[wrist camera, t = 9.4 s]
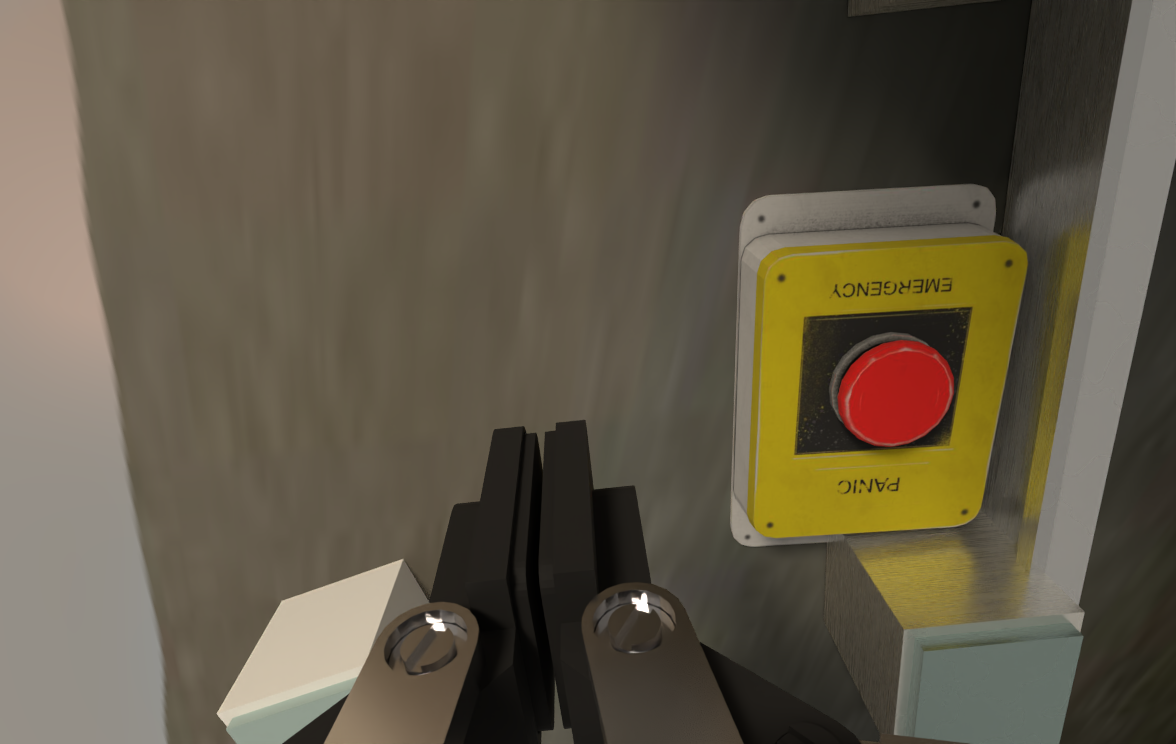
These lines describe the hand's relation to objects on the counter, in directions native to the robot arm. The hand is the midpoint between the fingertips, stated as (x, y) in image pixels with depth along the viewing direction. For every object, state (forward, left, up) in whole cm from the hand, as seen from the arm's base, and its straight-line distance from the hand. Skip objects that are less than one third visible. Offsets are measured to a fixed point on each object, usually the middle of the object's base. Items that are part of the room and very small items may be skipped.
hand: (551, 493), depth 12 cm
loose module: (+14, -10, -14) cm, 22 cm away
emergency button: (+5, +11, -14) cm, 19 cm away
